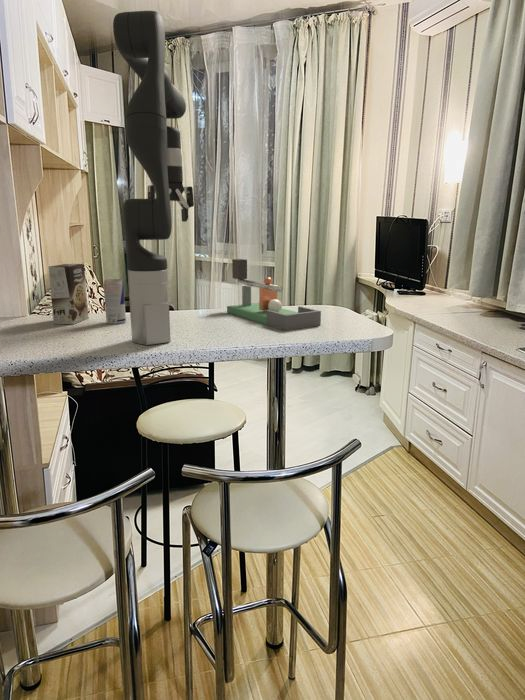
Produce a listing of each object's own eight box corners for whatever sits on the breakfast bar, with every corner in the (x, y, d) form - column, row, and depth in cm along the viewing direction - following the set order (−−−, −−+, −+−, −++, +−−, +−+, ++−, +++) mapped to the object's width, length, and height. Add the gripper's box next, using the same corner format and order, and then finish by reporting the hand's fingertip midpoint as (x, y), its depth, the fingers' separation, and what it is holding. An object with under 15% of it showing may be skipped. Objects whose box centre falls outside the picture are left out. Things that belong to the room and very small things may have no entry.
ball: (284, 313, 152) (284, 299, 151) (273, 314, 149) (273, 300, 148) (276, 311, 155) (276, 297, 154) (265, 312, 153) (265, 298, 152)
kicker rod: (286, 311, 151) (287, 264, 148) (272, 313, 149) (273, 265, 145) (243, 300, 171) (243, 258, 167) (230, 301, 168) (229, 259, 164)
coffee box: (74, 324, 145) (69, 266, 141) (52, 324, 146) (46, 266, 142) (89, 318, 154) (85, 263, 150) (69, 317, 155) (64, 263, 151)
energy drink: (128, 320, 151) (125, 279, 148) (122, 324, 146) (119, 281, 143) (110, 320, 151) (107, 279, 148) (103, 324, 146) (100, 281, 143)
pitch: (320, 325, 145) (321, 296, 143) (285, 330, 139) (286, 300, 137) (259, 308, 170) (259, 284, 168) (227, 312, 163) (226, 286, 161)
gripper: (152, 163, 148) (155, 222, 152) (196, 165, 156) (198, 221, 160) (141, 165, 154) (145, 221, 158) (185, 167, 162) (187, 221, 166)
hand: (171, 221), depth 159 cm, fingers open, 8 cm apart
